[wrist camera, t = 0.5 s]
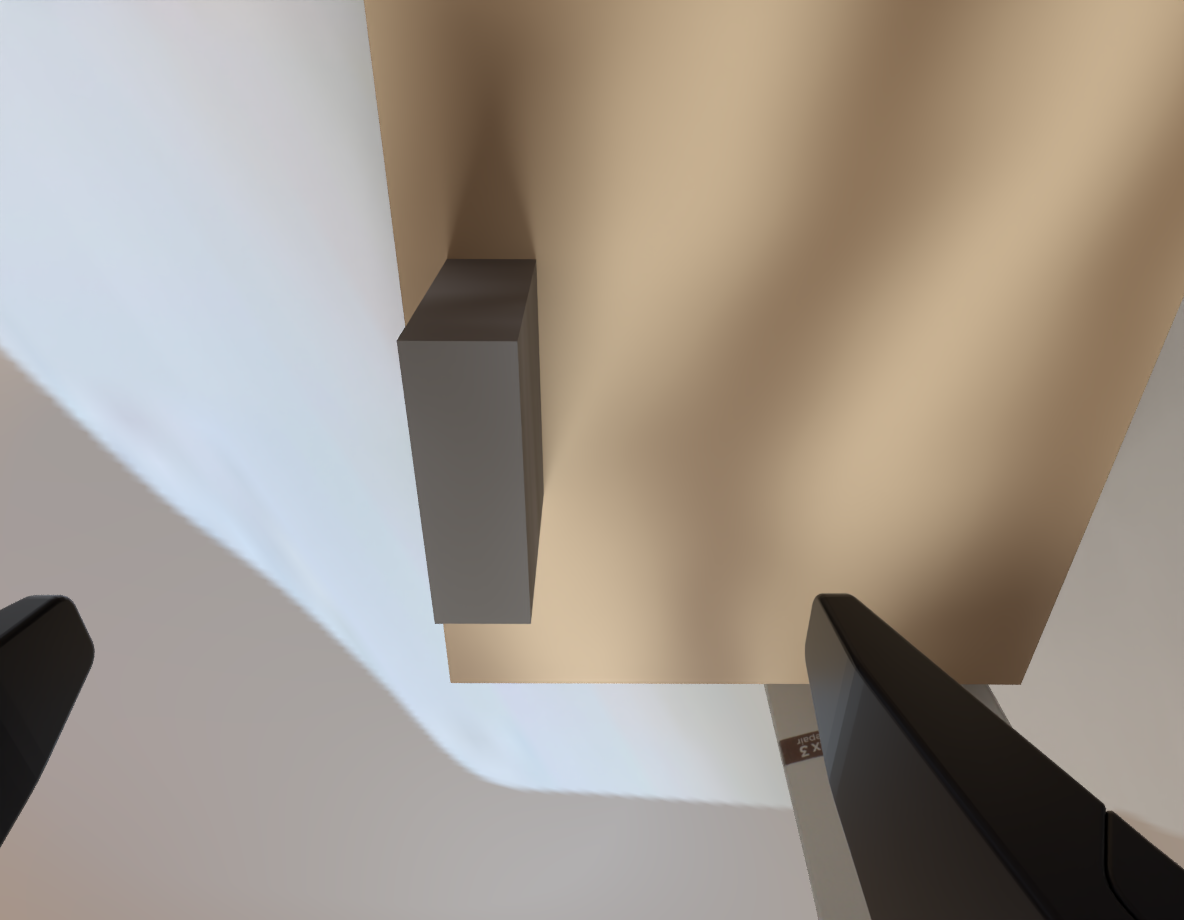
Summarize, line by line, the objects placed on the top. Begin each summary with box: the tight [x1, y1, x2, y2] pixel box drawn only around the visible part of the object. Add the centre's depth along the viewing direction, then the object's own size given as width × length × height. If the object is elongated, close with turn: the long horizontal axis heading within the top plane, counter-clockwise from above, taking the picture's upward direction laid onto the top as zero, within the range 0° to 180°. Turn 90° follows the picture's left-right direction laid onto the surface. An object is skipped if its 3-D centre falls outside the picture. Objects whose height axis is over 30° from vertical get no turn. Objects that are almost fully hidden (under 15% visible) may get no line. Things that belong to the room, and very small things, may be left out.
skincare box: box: [764, 684, 1012, 920], centre depth 20 cm, size 6×4×12 cm
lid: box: [364, 0, 1184, 685], centre depth 13 cm, size 14×16×5 cm
